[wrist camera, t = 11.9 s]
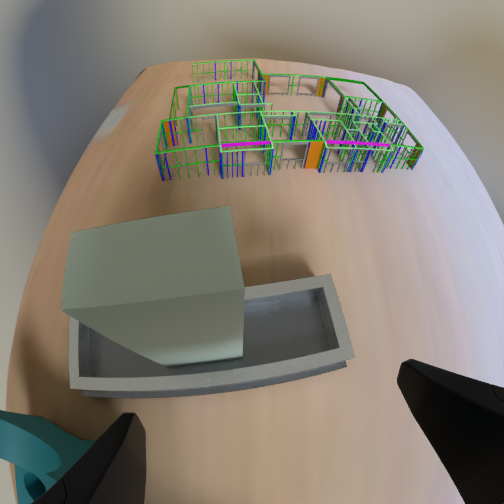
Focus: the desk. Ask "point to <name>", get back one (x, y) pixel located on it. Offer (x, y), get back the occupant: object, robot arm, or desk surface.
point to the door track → (229, 371)
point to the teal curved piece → (37, 452)
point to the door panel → (161, 286)
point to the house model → (315, 146)
